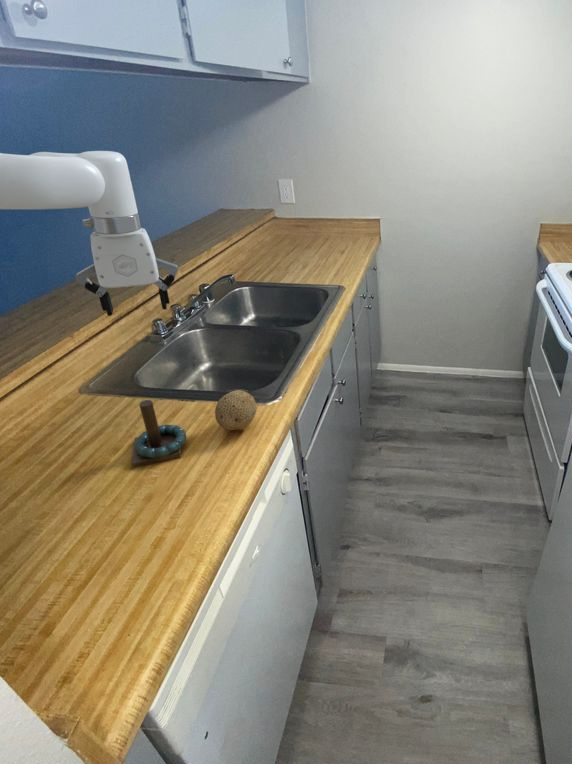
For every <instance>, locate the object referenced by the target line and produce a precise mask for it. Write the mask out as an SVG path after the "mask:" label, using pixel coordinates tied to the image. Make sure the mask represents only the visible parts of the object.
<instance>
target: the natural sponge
mask: <svg viewBox="0 0 572 764" xmlns="http://www.w3.org/2000/svg"><path fill="white" fill-rule="evenodd" d="M257 408H258V407H257V403H256V399H255V398H254V396H253V395H252V394H250V393H249V392H247V391H244V390H240V389H236V390H233V391H232V390H231V391H229V392H228V393H226V394H225V395H223V396H222V397H221V398H220V399H218V401H217V403H216V405H215V409H214V417H215V421H216V423H217V424H218V425H219V426H220V427H221V428H222V429H224V430H226V431H233V430H236V431H241V430H245V429H247V428H248V427H249V426H250V424H251V423H252V422H253V420H254V418H255V417H256V413H257Z"/></svg>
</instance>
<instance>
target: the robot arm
mask: <svg viewBox="0 0 572 764" xmlns="http://www.w3.org/2000/svg"><path fill="white" fill-rule="evenodd" d="M128 165H129V164H128V161H127V159H126V158H125V156H124V155H123V154H121V152H117V151H111V150H90V151H89V150H88V151H83V152H80V153H68V152H67V153H64V152H52V151H38V152H34V153H30V154H28V155H26V154H14V153H3V152H0V210H60V209H62V210H63V209H65V210H66V209H80V208H87V207H88V211H89V215H90V216H89V217H88V218H85V219H82V225H83V227H84V228H91V229H92V230H93V231H92V232H91V233H90V248H91V255H92V259H93V260H92V261H93V263H92V264H91V265H89V266H87V267H86V268H84V269H82V270H79V272H77V273H76V274H75V279H76V280H77V281H78V282H79V283H80V284H81V285H82V286H83V287H84V289H86V290H87V291H89V292H90V293H93V294H94V295H95V296H96V297H98V299H99V301H100V302H99V303H100V305H101V309H102V311H103V312H106V315H107V317H111V316H112V315H113V314H114V306H113V303H112V299H111V295H110V293H109V292H108V291H107V290H108V289H117V288H128V287H139V286H147V285H148V286H149V285H155V286H156V287H158V295H159V299H160V304H161V308H162V310H163V311H164V310H168V304H169V305H170V297H169V293H168V292H169V291H168V288H169V287H170V286H171V285H172V284H173V282H174V281H175V279H176V276H177V273H178V271H179V266H178V265H177V264H176V263H172V262H169V261H167V260H163V259H161V258H157V257H156V255H155V251H154V247H153V245H152V242H151V238H150V236H149V234H148V232H147V230H146V229H145V228H143V227H142V225H141V220H140V215H139V212H138V206H137V202H136V197H135V193H134V188H133V184H132V180H131V175H130V174H131V173H130V170H129V166H128ZM159 268H161V269H164V270H167V271H169V272H168V274H167V275H166V277H164V278H163V277H162V276H160V275H159V273H160V272H159ZM93 274H96V279H97V281H98V284H99V285H98V284H97V283H96V282H93V281H91V280H90V278H89V277H90V276H92V275H93Z"/></svg>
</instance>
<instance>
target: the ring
mask: <svg viewBox="0 0 572 764" xmlns="http://www.w3.org/2000/svg"><path fill="white" fill-rule="evenodd" d="M158 426H159V430H160V434H161V435H162V434H174V435H175V436H176V439H175V440H174V441H173V442H172V443H170V444H168V445H166V446H164V447H159V448H148V447H147V446H145V445H146V443H147V441H148V440H149V439H148V435H147V432H146V430H145V431H143V432H142V433H141V434H140V435H139V436H137V437H138V438H137V439H136V441H135V451H136V452H137V453H138V454H139V455H141V456H142V457H148V458H158V457H163V456H167V455H169V454H171V453H173V452H175V451H177V450H179V449H181V448H182V447H183V445H184V444H185V443H186V441H187V432H186V430H185V429H184V428H182V427H181V426H179V425H176V424H162V425H158Z"/></svg>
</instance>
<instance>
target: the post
mask: <svg viewBox="0 0 572 764" xmlns="http://www.w3.org/2000/svg"><path fill="white" fill-rule="evenodd" d="M138 405H139V406H138V407H139V410H140V412H141V413H140V414H141V416H142V421H143V425H144V428H145V431H146V432H147V435H148V439H149V440H148V441H147V443H146V445H145V446H147V447H148V448H159V447H164V446H166V445H168V444H170V443H172V442H173V441H174V440H175V439H176V436H175V435H174V434H162V435H161V434H160V430H159V426H160V425H159V422H158V419H157V415H156V411H155V407H154V403H153V400H150V399H145V400H142V401H140V402H139V404H138ZM138 437H139V436H137V437H134V441H133V451H132V462H131V464H132V467H133V468H139V467H142V466H148V465H151V464H156V463H161V462H165V461H170V460H174V459H179V458H182V453H181V452H182V451H181V448H180V449H179V450H177V451H175V452H173V453H171V454H169V455H167V456H163V457H158V458H148V457H142V456H141V455H139V454H138V453H137V452H136V451H135V441H136V439H137V438H138Z"/></svg>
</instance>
